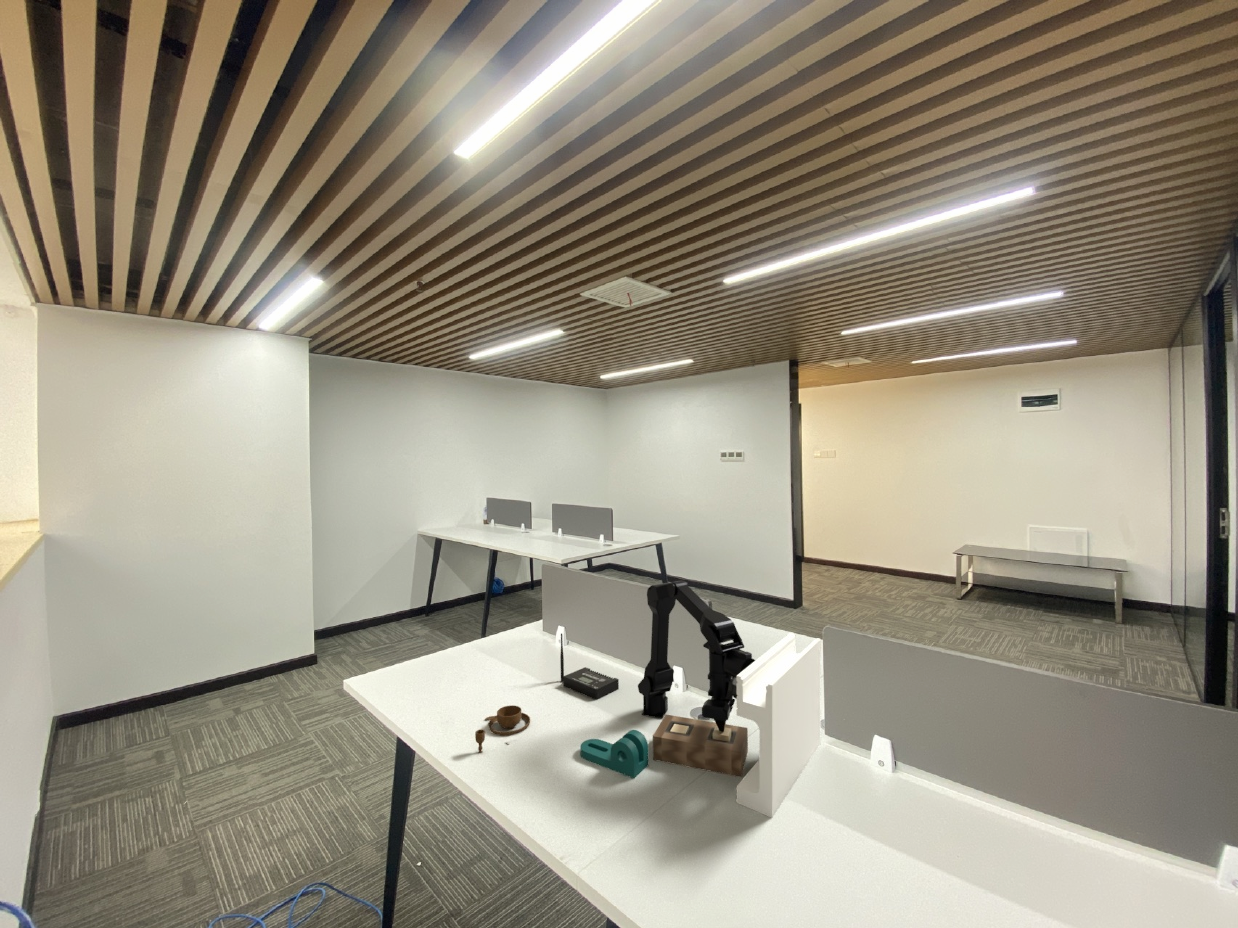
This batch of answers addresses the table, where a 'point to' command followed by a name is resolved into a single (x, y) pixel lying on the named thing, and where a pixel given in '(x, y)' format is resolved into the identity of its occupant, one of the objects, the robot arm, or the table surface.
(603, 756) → the bracket
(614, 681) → the wireless controller
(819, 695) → the block
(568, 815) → the table surface
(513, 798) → the table surface
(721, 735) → the peg
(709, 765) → the band block
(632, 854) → the table surface
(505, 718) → the place setting
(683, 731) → the peg
